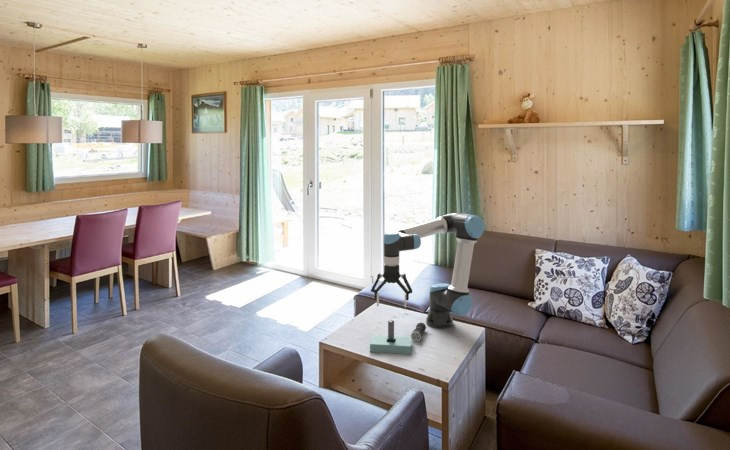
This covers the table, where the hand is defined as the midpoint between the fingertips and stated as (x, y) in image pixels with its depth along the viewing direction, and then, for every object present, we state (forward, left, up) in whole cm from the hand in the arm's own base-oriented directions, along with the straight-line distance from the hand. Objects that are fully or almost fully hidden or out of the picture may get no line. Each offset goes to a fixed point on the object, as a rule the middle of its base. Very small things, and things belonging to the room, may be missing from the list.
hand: (391, 306), depth 219 cm
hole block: (0, 0, -22) cm, 22 cm away
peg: (0, 0, -22) cm, 22 cm away
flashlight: (-13, -17, -22) cm, 31 cm away
